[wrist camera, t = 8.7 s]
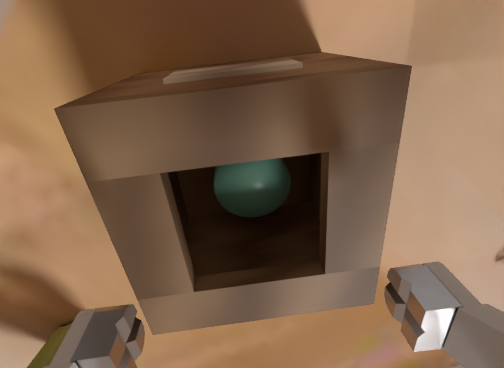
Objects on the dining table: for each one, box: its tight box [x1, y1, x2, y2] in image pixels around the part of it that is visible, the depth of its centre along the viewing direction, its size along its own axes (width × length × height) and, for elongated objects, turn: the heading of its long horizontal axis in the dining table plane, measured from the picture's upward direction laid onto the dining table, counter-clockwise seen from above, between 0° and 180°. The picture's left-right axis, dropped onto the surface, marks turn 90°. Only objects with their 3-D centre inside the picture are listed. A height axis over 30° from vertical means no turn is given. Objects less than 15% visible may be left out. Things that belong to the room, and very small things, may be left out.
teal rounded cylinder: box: [214, 158, 291, 217], centre depth 18 cm, size 4×4×5 cm
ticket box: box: [54, 52, 412, 335], centre depth 16 cm, size 12×12×10 cm
